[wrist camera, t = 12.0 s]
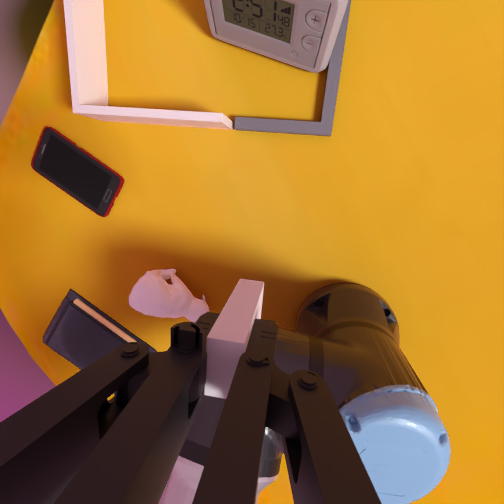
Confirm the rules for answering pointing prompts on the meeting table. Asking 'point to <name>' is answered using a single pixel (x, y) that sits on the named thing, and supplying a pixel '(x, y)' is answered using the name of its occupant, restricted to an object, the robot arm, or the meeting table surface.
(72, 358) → the wallet
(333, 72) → the frame
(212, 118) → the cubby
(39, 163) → the cell phone
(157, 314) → the pale pink lumpy piece
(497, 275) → the meeting table surface
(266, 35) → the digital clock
